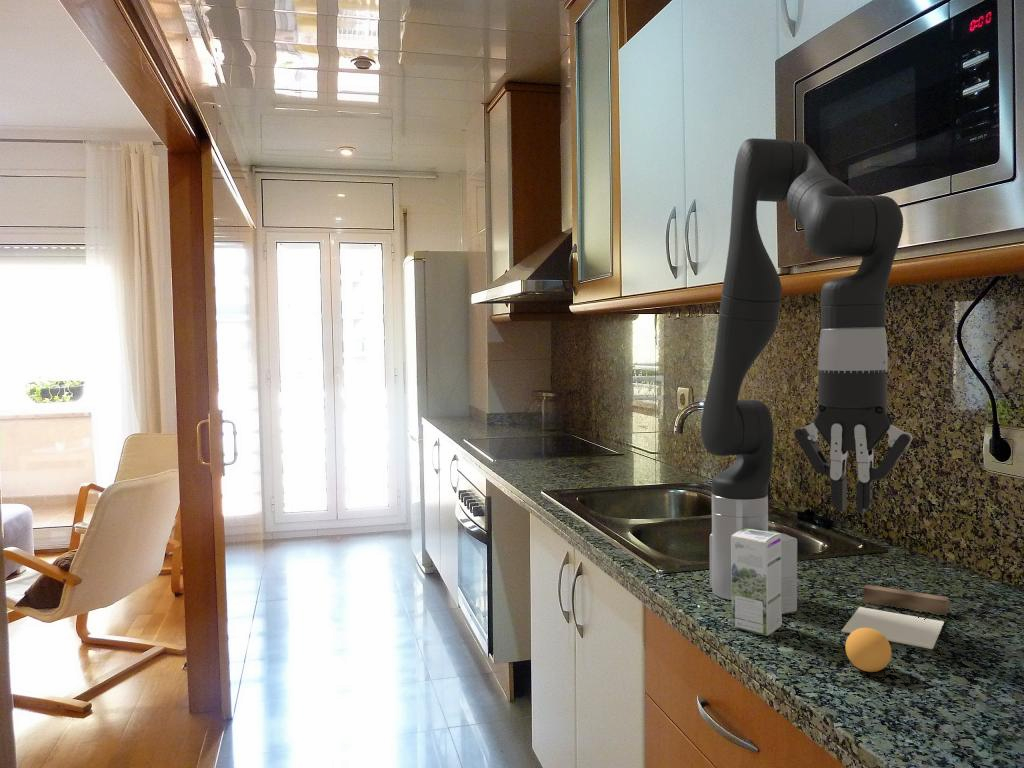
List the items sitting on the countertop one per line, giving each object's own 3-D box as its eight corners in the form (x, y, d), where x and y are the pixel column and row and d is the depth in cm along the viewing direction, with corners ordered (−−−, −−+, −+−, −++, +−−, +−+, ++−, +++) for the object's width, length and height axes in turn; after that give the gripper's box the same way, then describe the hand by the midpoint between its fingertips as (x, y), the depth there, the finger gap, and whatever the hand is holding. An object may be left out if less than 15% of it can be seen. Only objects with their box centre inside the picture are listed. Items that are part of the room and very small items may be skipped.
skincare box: (752, 603, 128) (751, 532, 127) (773, 600, 129) (773, 529, 128) (776, 615, 122) (776, 541, 121) (798, 611, 123) (798, 537, 123)
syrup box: (782, 626, 118) (782, 532, 117) (766, 637, 113) (766, 540, 112) (747, 617, 121) (746, 526, 121) (730, 628, 117) (729, 534, 116)
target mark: (841, 631, 115) (841, 630, 115) (859, 608, 124) (859, 606, 124) (932, 649, 108) (932, 647, 108) (944, 622, 117) (944, 621, 117)
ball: (836, 665, 103) (836, 624, 103) (868, 658, 105) (868, 619, 105) (867, 682, 98) (867, 639, 98) (901, 675, 100) (901, 633, 100)
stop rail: (863, 602, 127) (863, 587, 127) (865, 599, 129) (865, 584, 128) (946, 616, 120) (946, 600, 120) (948, 612, 122) (948, 597, 121)
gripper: (783, 367, 93) (784, 510, 94) (911, 368, 85) (909, 524, 86) (801, 365, 99) (801, 499, 100) (921, 365, 91) (920, 511, 92)
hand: (851, 510), depth 93 cm, fingers closed
